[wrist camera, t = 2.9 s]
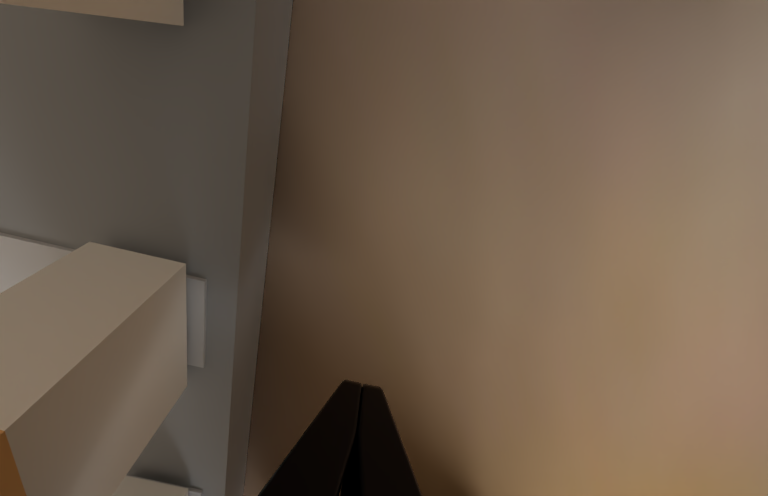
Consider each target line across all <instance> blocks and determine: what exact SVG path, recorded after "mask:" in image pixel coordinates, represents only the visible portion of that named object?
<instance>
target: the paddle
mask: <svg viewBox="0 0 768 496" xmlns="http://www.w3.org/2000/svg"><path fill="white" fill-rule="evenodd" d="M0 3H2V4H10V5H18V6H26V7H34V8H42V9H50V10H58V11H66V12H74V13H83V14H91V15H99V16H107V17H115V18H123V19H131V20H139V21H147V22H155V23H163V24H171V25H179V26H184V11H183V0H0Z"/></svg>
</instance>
